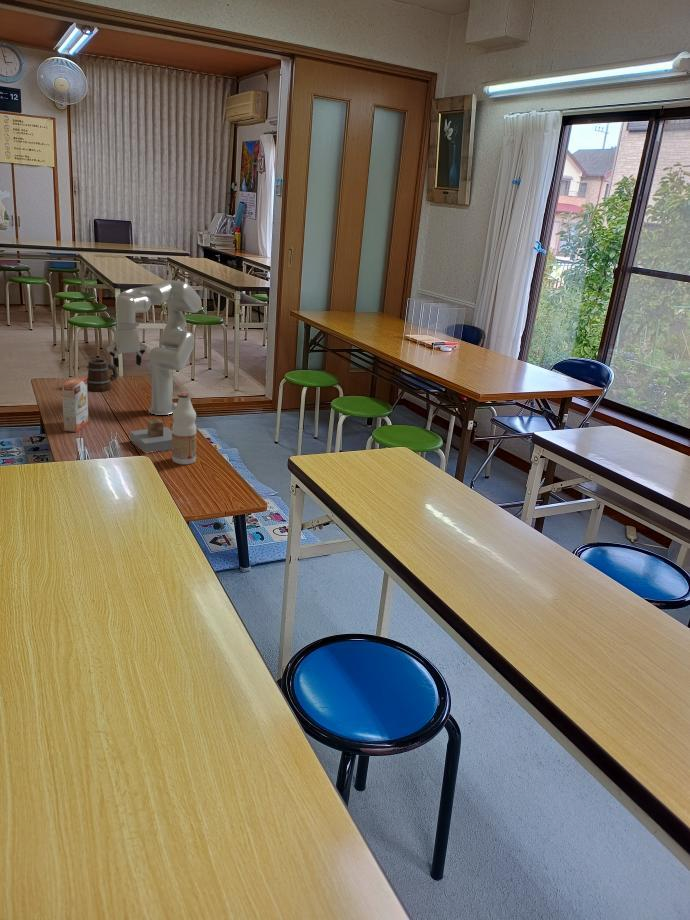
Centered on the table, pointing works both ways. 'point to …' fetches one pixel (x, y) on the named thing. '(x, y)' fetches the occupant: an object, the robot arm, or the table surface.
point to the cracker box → (75, 404)
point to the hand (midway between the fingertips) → (127, 365)
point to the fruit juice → (184, 431)
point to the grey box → (152, 440)
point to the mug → (99, 375)
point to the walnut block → (155, 427)
